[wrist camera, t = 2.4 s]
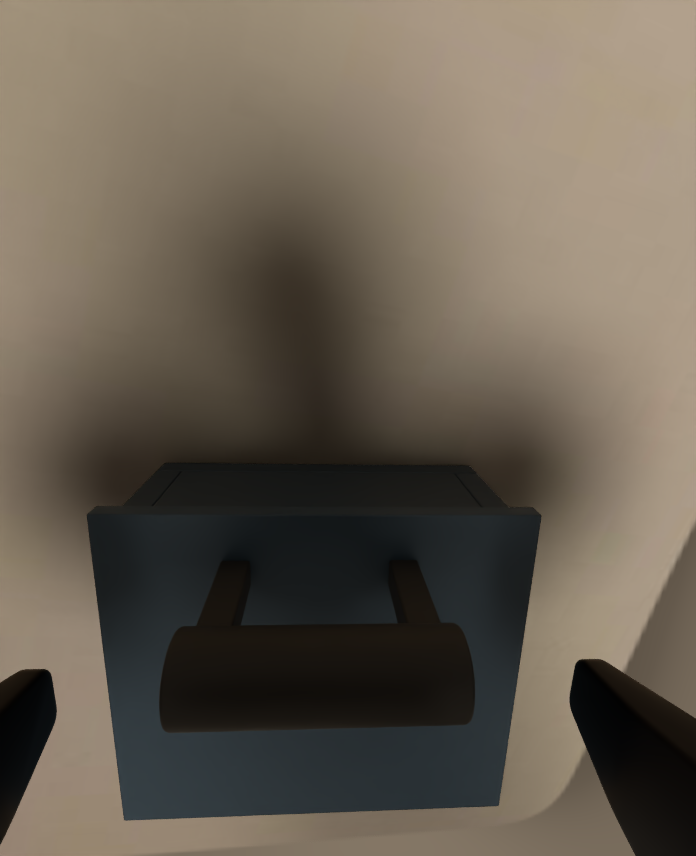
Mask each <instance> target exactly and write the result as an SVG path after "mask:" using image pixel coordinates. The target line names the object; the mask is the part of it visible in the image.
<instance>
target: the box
mask: <svg viewBox="0 0 696 856" xmlns="http://www.w3.org/2000/svg"><path fill="white" fill-rule="evenodd" d="M123 506H244V507H508V506H507V505H506V504H505V503H504V502H503V501H502V500H501V499H500V498H499V497H498V495H497V494H496V493H495V492H494V491H493V490H492V489H491V488H490V487H489V486H488V485H487V484H486V483H485V482H484V481H483V479H482V478H481V477H480V476H479V475H478V474H477V473H476V472H475V471H474V470H473V469H472V468H471V467H470V466H445V465H338V464H230V463H164V464H163V465H162V466H161V467H160V469H159V470H158V471H156V472H155V473H154V474H153V475H152V476H151V477H150V478H149V479H148V480H147V481H146V482H145V483H144V484H143V485H142V486H141V487H140V488H139V489H138V490H137V491H136V492H135V494H134V495H133V496H132V497H131V498H130V499H129V500H128V501H127V502H126V503H125V504H124V505H123Z"/></svg>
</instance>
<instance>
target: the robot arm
mask: <svg viewBox="0 0 696 856" xmlns="http://www.w3.org/2000/svg"><path fill="white" fill-rule="evenodd" d="M570 707H571V711H572V714H573V716H574V719H575V721H576V724H577V726H578V729H579V731H580V733H581V736H582V738H583V741H584V743H585V745H586V748H587V750H588V753H589V755H590V758H591V760H592V762H593V765H594V767H595V769H596V772H597V775H598V777H599V779H600V782H601V784H602V787H603V789H604V791H605V794H606V796H607V799H608V801H609V803H610V805H611V808H612V810H613V812H614V814H615V816H616V818H617V820H618V822H619V824H620V826H621V828H622V830H623V832H624V834H625V836H626V838H627V840H628V842H629V844H630V846H631V848H632V850H633V852H634V853H635V855H636V856H696V718H694V717H692V716H691V715H689V714H688V713H686V712H684V711H683V710H681V709H680V708H678V707H677V706H675V705H673V704H672V703H670V702H669V701H667V700H665V699H664V698H662V697H661V696H659V695H658V694H656V693H654V692H653V691H651V690H650V689H648V688H647V687H645V686H643V685H642V684H640V683H639V682H637V681H636V680H634V679H632V678H631V677H629V676H628V675H626V674H624V673H623V672H621V671H620V670H618V669H617V668H615V667H613V666H612V665H610V664H609V663H607V662H605V661H604V660H601V659H581V660H579V661H578V662H577V663H576V665H575V669H574V675H573V680H572V686H571V691H570ZM56 713H57V708H56V701H55V695H54V688H53V682H52V676H51V673H50V672H49V671H48V670H46V669H25V670H21V671H19V672H17V673H15V674H13V675H12V676H10V677H9V678H7V679H5V680H4V681H2V682H1V683H0V844H1V842H2V840H3V838H4V836H5V835H6V832H7V830H8V828H9V826H10V824H11V822H12V819H13V817H14V815H15V813H16V811H17V808H18V806H19V804H20V801H21V799H22V797H23V795H24V792H25V790H26V788H27V785H28V783H29V781H30V779H31V776H32V774H33V772H34V769H35V767H36V765H37V763H38V760H39V758H40V756H41V754H42V751H43V749H44V747H45V744H46V742H47V740H48V738H49V735H50V733H51V731H52V728H53V726H54V723H55V720H56Z"/></svg>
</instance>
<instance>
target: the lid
mask: <svg viewBox="0 0 696 856" xmlns="http://www.w3.org/2000/svg"><path fill="white" fill-rule="evenodd" d="M87 521H88V530H89V538H90V546H91V554H92V562H93V570H94V579H95V587H96V595H97V603H98V611H99V619H100V628H101V636H102V644H103V652H104V660H105V668H106V677H107V685H108V693H109V701H110V709H111V717H112V726H113V734H114V742H115V750H116V758H117V766H118V774H119V783H120V791H121V799H122V807H123V815H124V820H150V819H176V818H202V817H227V816H253V815H279V814H305V813H330V812H356V811H382V810H408V809H433V808H459V807H485V806H498V805H499V800H500V793H501V787H502V780H503V773H504V766H505V759H506V753H507V746H508V739H509V732H510V726H511V719H512V712H513V705H514V699H515V692H516V685H517V678H518V672H519V665H520V658H521V651H522V645H523V638H524V631H525V624H526V617H527V611H528V604H529V597H530V590H531V584H532V577H533V570H534V563H535V557H536V550H537V543H538V536H539V530H540V523H541V515H540V514H539V513H538V512H537V511H536V510H535V509H534V508H532V507H244V506H96V507H95V508H94V509H92V510H91V511H90V512H89V513H88V514H87Z"/></svg>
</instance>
